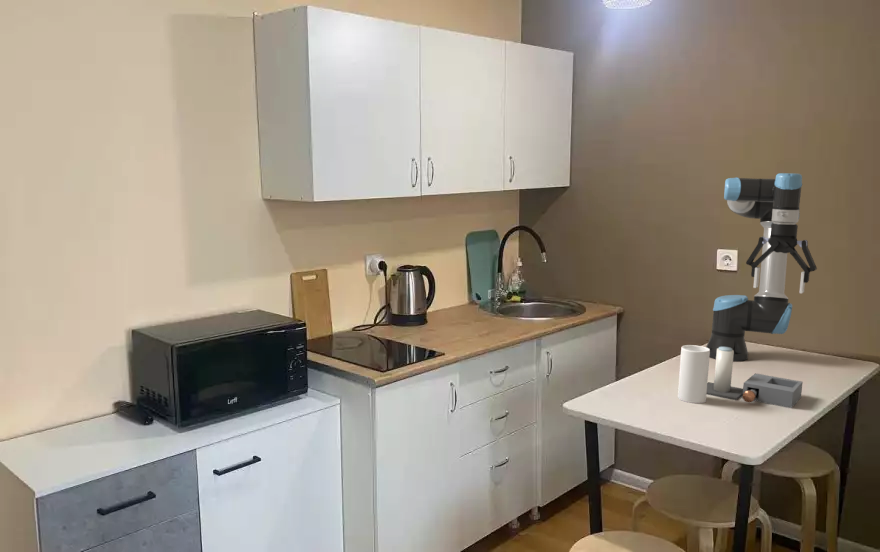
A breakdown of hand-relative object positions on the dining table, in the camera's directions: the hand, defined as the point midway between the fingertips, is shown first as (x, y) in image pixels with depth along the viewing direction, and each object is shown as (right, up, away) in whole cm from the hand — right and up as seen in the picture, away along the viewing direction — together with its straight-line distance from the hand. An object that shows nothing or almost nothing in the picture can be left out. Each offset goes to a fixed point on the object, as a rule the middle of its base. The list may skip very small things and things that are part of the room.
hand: (778, 290), depth 229 cm
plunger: (-11, -33, -7) cm, 36 cm away
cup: (-30, -34, -7) cm, 46 cm away
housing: (-4, -33, -4) cm, 34 cm away
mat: (-18, -32, +1) cm, 37 cm away
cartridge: (-18, -32, +1) cm, 36 cm away
